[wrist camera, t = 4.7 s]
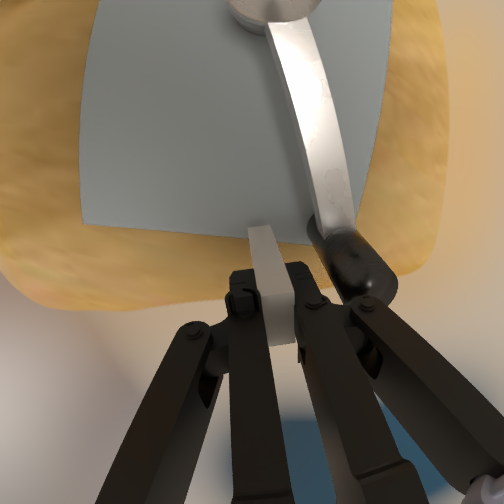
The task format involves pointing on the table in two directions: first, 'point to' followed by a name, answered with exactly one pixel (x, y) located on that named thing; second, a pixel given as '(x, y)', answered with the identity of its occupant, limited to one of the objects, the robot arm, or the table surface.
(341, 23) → the base
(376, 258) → the lever
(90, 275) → the table surface
